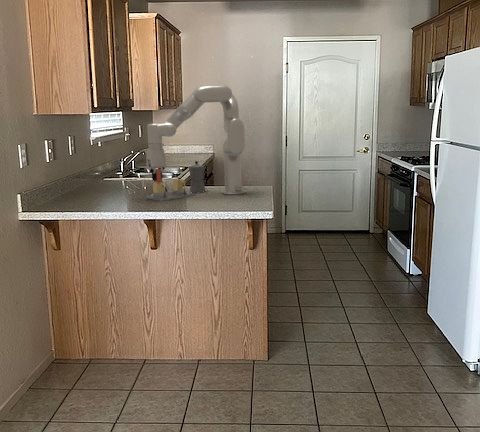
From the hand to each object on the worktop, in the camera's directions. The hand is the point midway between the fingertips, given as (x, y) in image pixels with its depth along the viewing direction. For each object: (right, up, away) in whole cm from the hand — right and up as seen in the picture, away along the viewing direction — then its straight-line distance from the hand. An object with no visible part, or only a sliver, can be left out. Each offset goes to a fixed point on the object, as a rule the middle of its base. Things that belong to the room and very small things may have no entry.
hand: (157, 179), depth 300 cm
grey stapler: (0, -7, +22) cm, 23 cm away
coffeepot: (+21, -6, +22) cm, 31 cm away
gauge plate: (+7, -9, +5) cm, 13 cm away
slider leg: (+2, -9, 0) cm, 9 cm away
